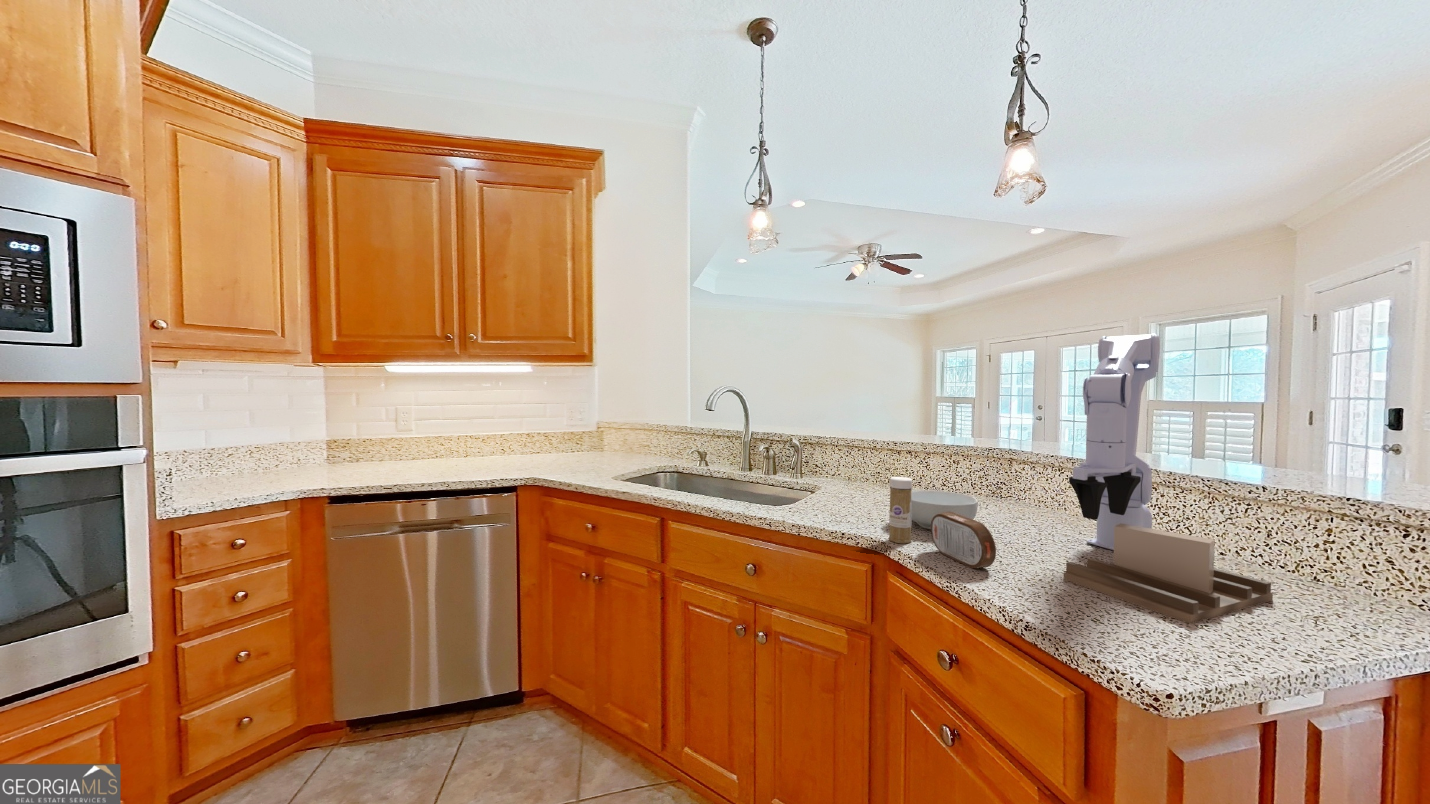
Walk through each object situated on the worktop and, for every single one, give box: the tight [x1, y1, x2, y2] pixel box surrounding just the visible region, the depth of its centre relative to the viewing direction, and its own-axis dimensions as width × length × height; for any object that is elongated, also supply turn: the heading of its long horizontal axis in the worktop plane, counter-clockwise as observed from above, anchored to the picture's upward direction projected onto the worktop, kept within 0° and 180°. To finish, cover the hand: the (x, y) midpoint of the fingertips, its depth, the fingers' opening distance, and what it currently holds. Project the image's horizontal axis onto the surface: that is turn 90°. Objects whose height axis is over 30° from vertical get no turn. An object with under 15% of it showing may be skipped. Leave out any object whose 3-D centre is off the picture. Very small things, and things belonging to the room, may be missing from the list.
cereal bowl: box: [911, 489, 979, 530], centre depth 124 cm, size 17×17×7 cm
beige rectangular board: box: [1113, 523, 1216, 593], centre depth 86 cm, size 3×12×8 cm, turn 37°
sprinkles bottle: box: [888, 476, 913, 545], centre depth 112 cm, size 5×5×14 cm
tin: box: [930, 511, 997, 569], centre depth 100 cm, size 15×3×8 cm, turn 14°
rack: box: [1063, 557, 1274, 625], centre depth 86 cm, size 21×18×3 cm
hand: (1103, 516), depth 96 cm, fingers open, 7 cm apart
